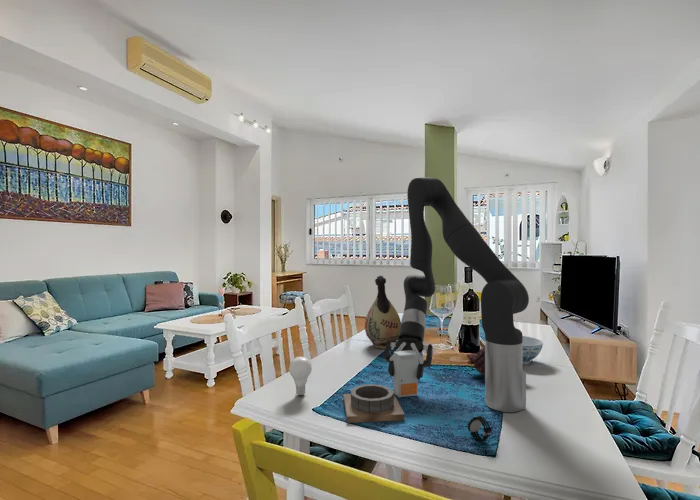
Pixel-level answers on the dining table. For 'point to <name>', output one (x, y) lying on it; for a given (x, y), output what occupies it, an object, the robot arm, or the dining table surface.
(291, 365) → the lightbulb
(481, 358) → the pine cone
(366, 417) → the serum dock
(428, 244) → the robot arm
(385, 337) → the ceramic jug
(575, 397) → the dining table surface
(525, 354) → the chinaware
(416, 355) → the skincare box
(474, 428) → the smartwatch
